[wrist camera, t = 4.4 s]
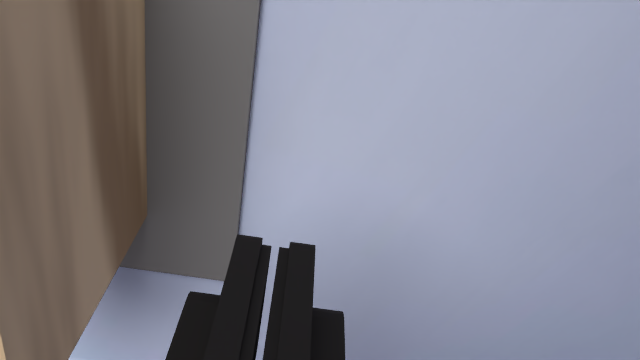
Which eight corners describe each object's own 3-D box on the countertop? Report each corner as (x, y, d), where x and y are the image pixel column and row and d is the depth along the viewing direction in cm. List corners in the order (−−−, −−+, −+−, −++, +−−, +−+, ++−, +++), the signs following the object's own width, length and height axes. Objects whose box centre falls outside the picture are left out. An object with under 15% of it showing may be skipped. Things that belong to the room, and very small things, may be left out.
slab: (143, -113, 16) (-90, -85, 7) (147, 215, 22) (23, 440, 13) (-11, -140, 16) (-440, -145, 7) (36, 199, 22) (-163, 418, 13)
